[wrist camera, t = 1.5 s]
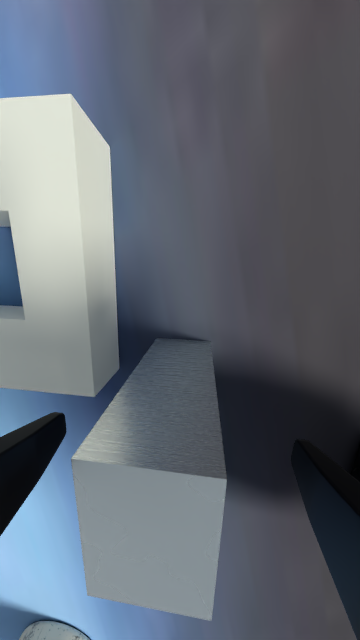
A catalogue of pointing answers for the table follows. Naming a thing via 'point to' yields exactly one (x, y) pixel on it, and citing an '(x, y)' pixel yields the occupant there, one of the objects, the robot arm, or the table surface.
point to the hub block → (57, 248)
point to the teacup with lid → (51, 632)
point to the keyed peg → (155, 485)
